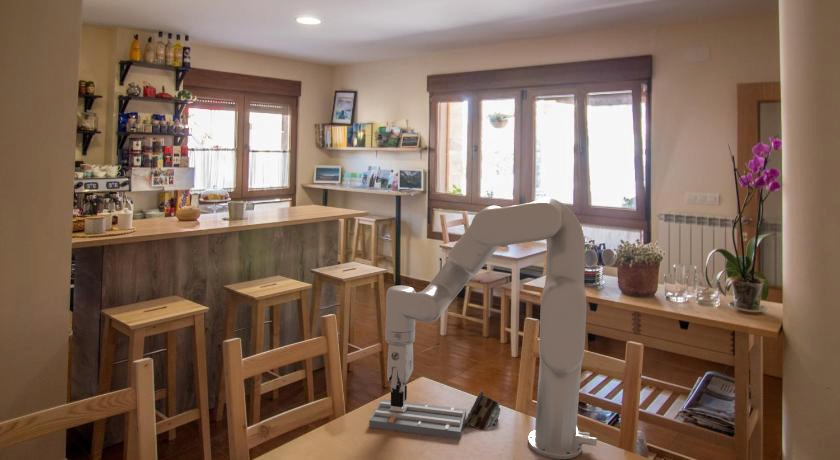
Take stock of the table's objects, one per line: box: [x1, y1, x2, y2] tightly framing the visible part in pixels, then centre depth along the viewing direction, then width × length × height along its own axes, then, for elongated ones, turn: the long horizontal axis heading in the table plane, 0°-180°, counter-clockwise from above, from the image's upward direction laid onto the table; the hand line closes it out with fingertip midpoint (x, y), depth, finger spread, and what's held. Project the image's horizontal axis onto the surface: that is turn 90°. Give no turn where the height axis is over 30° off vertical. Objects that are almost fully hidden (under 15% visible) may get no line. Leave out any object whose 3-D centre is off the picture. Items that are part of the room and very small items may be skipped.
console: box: [368, 398, 467, 441], centre depth 139 cm, size 23×12×3 cm, turn 79°
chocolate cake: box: [463, 388, 501, 431], centre depth 141 cm, size 10×7×12 cm
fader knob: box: [390, 384, 407, 414], centre depth 139 cm, size 4×3×7 cm
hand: (398, 402), depth 139 cm, fingers closed on fader knob, 3 cm apart
